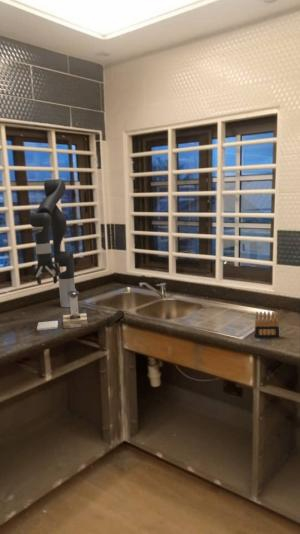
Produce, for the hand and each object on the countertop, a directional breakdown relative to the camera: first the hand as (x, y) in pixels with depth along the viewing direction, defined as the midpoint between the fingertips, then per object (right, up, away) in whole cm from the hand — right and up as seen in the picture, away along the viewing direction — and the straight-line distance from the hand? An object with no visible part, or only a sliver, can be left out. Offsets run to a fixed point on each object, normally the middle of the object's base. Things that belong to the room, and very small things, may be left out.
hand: (47, 283), depth 211 cm
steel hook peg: (+14, -21, +3) cm, 25 cm away
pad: (0, -22, 0) cm, 22 cm away
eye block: (+14, -21, +3) cm, 25 cm away
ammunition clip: (+105, -23, -26) cm, 111 cm away
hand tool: (+35, -21, +3) cm, 40 cm away
